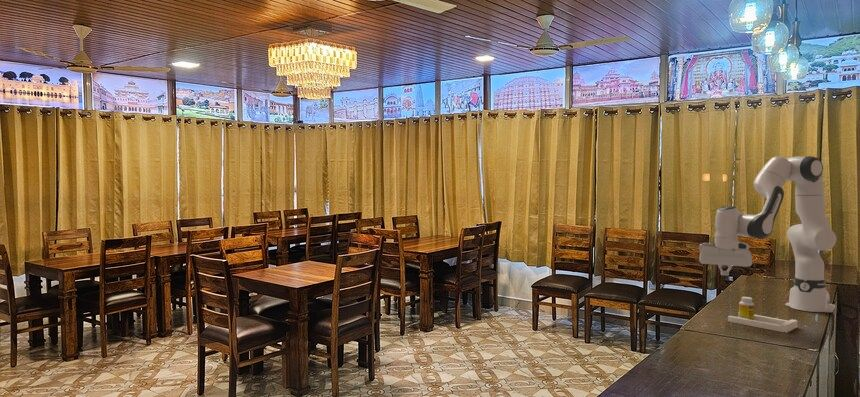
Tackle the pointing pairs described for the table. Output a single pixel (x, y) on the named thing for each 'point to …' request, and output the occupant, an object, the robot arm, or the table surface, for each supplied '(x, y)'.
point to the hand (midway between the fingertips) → (724, 275)
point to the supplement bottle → (746, 308)
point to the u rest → (766, 323)
